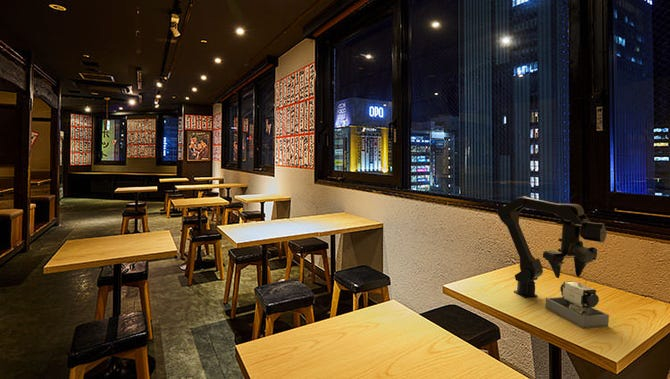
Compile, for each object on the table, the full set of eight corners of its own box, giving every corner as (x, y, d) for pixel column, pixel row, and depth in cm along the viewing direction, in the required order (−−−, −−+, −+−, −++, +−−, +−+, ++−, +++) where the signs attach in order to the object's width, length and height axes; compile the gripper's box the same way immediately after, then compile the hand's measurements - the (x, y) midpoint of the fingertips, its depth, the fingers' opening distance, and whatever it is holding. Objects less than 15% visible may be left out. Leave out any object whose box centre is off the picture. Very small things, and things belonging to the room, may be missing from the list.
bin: (545, 308, 131) (545, 298, 131) (567, 306, 133) (568, 296, 132) (582, 328, 115) (583, 317, 115) (608, 326, 117) (609, 315, 117)
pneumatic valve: (568, 307, 130) (571, 276, 129) (597, 321, 119) (600, 288, 118) (556, 308, 129) (558, 277, 128) (584, 322, 118) (586, 289, 117)
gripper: (567, 243, 120) (564, 286, 121) (611, 241, 124) (608, 283, 125) (542, 236, 131) (540, 275, 132) (584, 234, 134) (581, 273, 136)
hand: (567, 277), depth 131 cm, fingers open, 9 cm apart
